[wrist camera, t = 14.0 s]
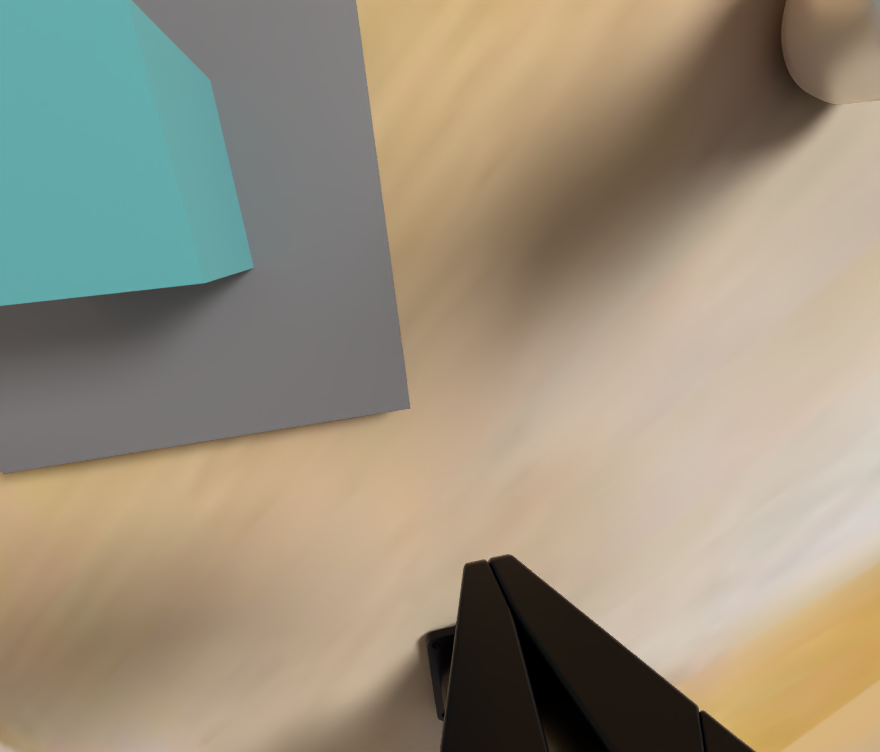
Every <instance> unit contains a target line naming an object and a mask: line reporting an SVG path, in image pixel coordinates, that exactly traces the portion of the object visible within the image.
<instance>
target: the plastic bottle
mask: <svg viewBox="0 0 880 752" xmlns="http://www.w3.org/2000/svg"><path fill="white" fill-rule="evenodd" d="M781 39H782V51H783V56H784V61H785V64H786V66H787V69H788V71H789V74H790V75H791V77H792V78H793V80H794V81H795V83H796V84H797V85H798V86H799V87H800V88H802V89H803V90H804V91H805V92H807V93H809V94H811V95H812V96H814V97H816V98H818V99H820V100H823V101H825V102H827V103H833V104H849V103H858V102H868V101H877V100H880V0H786V4H785V8H784V12H783V19H782V29H781Z"/></svg>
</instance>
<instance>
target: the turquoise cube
mask: <svg viewBox="0 0 880 752" xmlns="http://www.w3.org/2000/svg"><path fill="white" fill-rule="evenodd" d="M252 268H254V266H253V262H252V257H251V253H250V249H249V245H248V240H247V236H246V232H245V227H244V223H243V219H242V215H241V210H240V206H239V202H238V197H237V193H236V189H235V184H234V180H233V176H232V172H231V167H230V163H229V159H228V154H227V150H226V146H225V141H224V137H223V133H222V129H221V124H220V120H219V116H218V111H217V107H216V103H215V98H214V94H213V90H212V86H211V81H210V79H209V78H208V77H207V76H206V75H205V74H204V73H203V72H202V71H201V70H200V69H199V68H198V67H197V66H196V65H195V64H194V63H193V62H192V61H191V60H190V59H189V58H188V57H187V56H186V55H185V54H184V53H183V52H182V51H181V50H180V49H179V48H178V47H177V46H176V45H175V44H174V43H173V42H172V41H171V40H170V39H169V38H168V37H167V36H166V35H165V34H164V33H163V32H162V31H161V30H160V29H159V27H158V26H157V25H156V24H155V23H154V22H153V21H152V20H151V19H150V18H149V17H148V16H147V15H146V14H145V13H144V12H143V11H142V10H141V9H140V8H139V7H138V6H137V5H136V4H135V3H134V2H133V1H132V0H0V306H4V305H13V304H22V303H31V302H40V301H49V300H58V299H67V298H76V297H85V296H94V295H103V294H112V293H121V292H130V291H139V290H148V289H157V288H166V287H175V286H184V285H193V284H202V283H207V282H210V281H213V280H216V279H220V278H223V277H226V276H229V275H233V274H236V273H239V272H242V271H246V270H249V269H252Z"/></svg>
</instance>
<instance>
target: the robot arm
mask: <svg viewBox="0 0 880 752" xmlns="http://www.w3.org/2000/svg"><path fill="white" fill-rule="evenodd" d="M426 643H427V649H428V656H429V663H430V669H431V676H432V683H433V689H434V696H435V703H436V710H437V716H438V719H440V720H442V721H444V723H443V730H442V738H441V746H440V752H755V751H754V750H753V749H752V748H750V747H749V746H748V745H746V744H745V743H744V742H743V741H741V740H740V739H739V738H737V737H736V736H735V735H734V734H732V733H731V732H730V731H729V730H727V729H726V728H725V727H724V726H723V725H721V724H720V723H719V722H718V721H716V720H715V719H714V718H713V717H711V716H710V715H709V714H708V713H706V712H705V711H703V710H702V711H700V712H699V708H698V706H697V705H696V704H695V703H694V702H693V701H691V700H690V699H689V698H688V697H686V696H685V695H684V694H683V693H681V692H680V691H679V690H678V689H677V688H675V687H674V686H673V685H672V684H670V683H669V682H668V681H667V680H665V679H664V678H663V677H662V676H660V675H659V674H658V673H657V672H656V671H654V670H653V669H652V668H651V667H649V666H648V665H647V664H646V663H644V662H643V661H642V660H641V659H640V658H638V657H637V656H636V655H635V654H633V653H632V652H631V651H630V650H628V649H627V648H626V647H625V646H623V645H622V644H621V643H620V642H619V641H617V640H616V639H615V638H614V637H612V636H611V635H610V634H609V633H607V632H606V631H605V630H604V629H602V628H601V627H600V626H599V625H598V624H596V623H595V622H594V621H593V620H591V619H590V618H589V617H588V616H586V615H585V614H584V613H583V612H582V611H580V610H579V609H578V608H577V607H575V606H574V605H573V604H572V603H570V602H569V601H568V600H567V599H565V598H564V597H563V596H562V595H561V594H559V593H558V592H557V591H556V590H554V589H553V588H552V587H551V586H549V585H548V584H547V583H546V582H545V581H543V580H542V579H541V578H540V577H538V576H537V575H536V574H535V573H533V572H532V571H531V570H530V569H528V568H527V567H526V566H525V565H524V564H522V563H521V562H520V561H519V560H517V559H516V558H515V557H514V556H512V555H509V554H507V555H502V556H498V557H493V558H490V559H489V560H488V562H487V561H486V560H479V561H474V562H470V563H466V564H465V565H464V569H463V576H462V584H461V592H460V599H459V607H458V615H457V622H456V627H453V628H449V629H444V630H440V631H436V632H432V633H430V634H429V635H428V636H427V638H426Z"/></svg>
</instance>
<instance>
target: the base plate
mask: <svg viewBox="0 0 880 752" xmlns="http://www.w3.org/2000/svg"><path fill="white" fill-rule="evenodd" d="M132 1H133V2H134V3H135V4H136V5H137V6H138V7H139V8H140V9H141V10H142V11H143V12H144V13H145V14H146V15H147V16H148V17H149V18H150V19H151V20H152V21H153V22H154V23H155V24H156V25H157V26H158V27H159V29H160V30H161V31H162V32H163V33H164V34H165V35H166V36H167V37H168V38H169V39H170V40H171V41H172V42H173V43H174V44H175V45H176V46H177V47H178V48H179V49H180V50H181V51H182V52H183V53H184V54H185V55H186V56H187V57H188V58H189V59H190V60H191V61H192V62H193V63H194V64H195V65H196V66H197V67H198V68H199V69H200V70H201V71H202V72H203V73H204V74H205V75H206V76H207V77H208V78H209V79H210V81H211V86H212V90H213V94H214V98H215V103H216V107H217V111H218V116H219V120H220V124H221V129H222V133H223V137H224V141H225V146H226V150H227V154H228V159H229V163H230V167H231V172H232V176H233V180H234V184H235V189H236V193H237V197H238V202H239V206H240V210H241V215H242V219H243V223H244V227H245V232H246V236H247V240H248V245H249V249H250V253H251V257H252V262H253V266H254V268H252V269H249V270H246V271H242V272H239V273H236V274H233V275H229V276H226V277H223V278H220V279H216V280H213V281H210V282H207V283H202V284H193V285H184V286H175V287H166V288H157V289H148V290H139V291H130V292H121V293H112V294H103V295H94V296H85V297H76V298H67V299H58V300H49V301H40V302H31V303H22V304H13V305H4V306H0V469H1V471H2V473H3V474H5V473H11V472H17V471H23V470H29V469H36V468H42V467H48V466H54V465H61V464H67V463H73V462H79V461H86V460H92V459H98V458H104V457H111V456H117V455H123V454H129V453H136V452H142V451H148V450H154V449H160V448H167V447H173V446H179V445H185V444H192V443H198V442H204V441H210V440H217V439H223V438H229V437H235V436H242V435H248V434H254V433H260V432H266V431H273V430H279V429H285V428H291V427H298V426H304V425H310V424H316V423H323V422H329V421H335V420H341V419H348V418H354V417H360V416H366V415H372V414H379V413H385V412H391V411H397V410H404V409H410V402H409V394H408V387H407V379H406V372H405V364H404V357H403V349H402V342H401V334H400V327H399V319H398V312H397V305H396V297H395V290H394V282H393V275H392V267H391V260H390V252H389V245H388V237H387V230H386V222H385V215H384V207H383V200H382V192H381V185H380V177H379V170H378V162H377V155H376V147H375V140H374V132H373V125H372V117H371V110H370V102H369V95H368V87H367V80H366V72H365V65H364V58H363V50H362V43H361V35H360V28H359V20H358V13H357V5H356V0H132Z"/></svg>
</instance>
